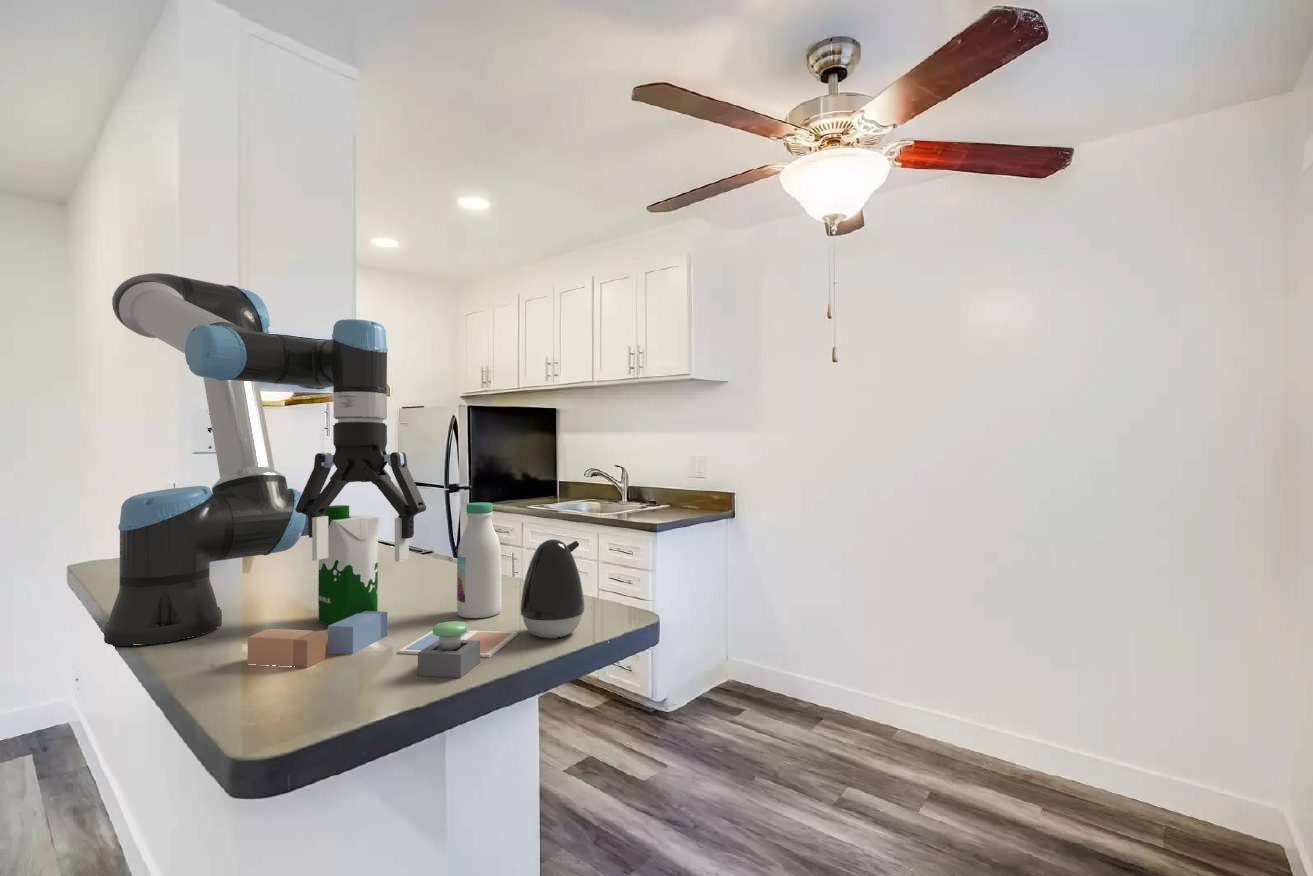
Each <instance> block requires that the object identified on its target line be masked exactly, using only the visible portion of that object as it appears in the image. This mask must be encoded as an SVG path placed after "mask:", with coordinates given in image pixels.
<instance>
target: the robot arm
mask: <svg viewBox="0 0 1313 876" xmlns="http://www.w3.org/2000/svg"><path fill="white" fill-rule="evenodd" d="M111 299H112V300H111V301H112V302H111V304H112V305H111V306H112V310H113V313H114V316H115V317H116V319H117V320H118V321H119V322H120V323H121V324H122V325H123V326H124V327H126V329H129V330H130V331H132V332H134V333H135V334H138V335H139V336H141V337H146V338H150V339H151V338H152V339H159V340H160V341H162V342H164V343H165V344H167V345H169V346H171V347H172V348H174V349H176V350H178V351H179V352H180V353H183V354H184V357H185V362H186V364H187V366H188V368H189V371H190V372H191V373H192V374H193V375H194V376H197V377H201V378H203V384H204V390H205V395H206V402H207V407H208V413H209V419H210V425H211V432H212V436H213V443H214V449H215V454H216V461H217V467H218V471H219V472H218V474H219V479H218V480H217V481H216V482H215V483H214V485H212V487H211V489H210V487H209V486H206V485H204V486H203V485H199V486H198V485H197V486H196V485H195V486H194V485H193V486H184V487H174V488H167V489H160V490H155V491H150V492H149V491H148V492H144V493H140V494H136V495H132V496H130V497H129V498H127V499H125V501H124V502H122V505H121V506H120V517H119V523H118V527H117V529H118V530H119V589H118V593H117V596H116V598H115V601H114V603H113V607H112V609H111V613H110V616H109V620H108V621H107V622H106V623H105V624H104V628H103V629H104V630H103V637H104V638H103V642H104V643H105V644H107V645H111V646H116V647H117V646H118V647H134V646H133V644H150V645H157V643H159V644H164V643H163V642H166V643H170V642H169V641H172V642H177V640H178V641H181V640H180V639H183V638H187V639H189V638H188V637H191V638H193V637H192V636H195V637H199V636H202V635H204V634H203V633H206V632H208V633H211V632H213V631H215V630H214V629H216V628H217V627H219V628H221V626H222V625H221V624H223V623H222V622H223V621H222V619H223V618H222V617H223V611H222V609H221V607H220V606H218V603H217V599H216V598H217V597H216V595H215V593H214V589H213V586H212V584H211V580H210V565H211V562H218V561H219V562H221V561H226V560H227V561H228V560H233V559H241V558H248V557H256V556H269V555H271V554H274V553H275V554H276V553H281V552H284V551H285V552H286V551H288V550H290V549H292V548H293V547H294V546H295V545H296V544H297V543H298V542H299V539H300V538H301V536H302V533H303V531H304V529H305V526H306V520H307V523H308V524H307V527H308V528H307V536H308V538H311V539H312V540H311V543H312V546H311V549H312V552H311V553H312V554H311V557H312V559H311V561H319V560H320V559H324V558H328V516H323V515H325V514H326V513H325V514H323V513H324V512H325V511H326V509H327V508H328V507H329V506H331V504H332V503H333V502H334V501H335V499H336V498H337V497H338V495H339V494H340V493H341V491H342V490H343V489H344V487H345V486H346V485H347V484H349V483H356V482H360V483H369V482H370V483H372V484H373V485H375V486H376V487H377V489H378V490H379V491H380V492H381V494H382V495H383V496H384V497H385V499H386V500H387V501H388V503H389V504H390V505H391V506H392V508H393V509H394V510H395V512H396V513H397V514H398V516H397V517H394V562H395V563H397V562H403V561H407V560H409V559H410V539H411V538H414V534H415V532H414V531H415V530H414V529H415V526H414V525H415V523H414V522H415V516H416V515H418V514H420V513H423V512H426V510H427V505H426V503H425V501H424V498H423V497H422V495H421V493H420V491H419V489H418V486H417V485H416V482H415V480H414V478H413V476H412V473H411V472H410V469H409V467H408V464H407V463H408V462H407V455H406V452H401V451H399V452H398V451H397V452H395V451H394V452H392V453H389V454H387V451H386V448H387V444H388V425H386V423H385V422H384V420H387V419H388V398H387V397H388V394H387V390H388V389H387V388H388V387H387V386H388V385H387V384H388V382H387V381H388V378H387V377H388V351H389V349H388V346H387V331H386V328H385V327H384V326H383V325H382V324H381V323H378V322H376V321H372V320H365V319H355V318H352V319H351V318H350V319H348V318H347V319H346V318H345V319H340V320H337V321H336V322H334V325H333V329H332V334H331V338H330V339H325V340H319V339H311V338H303V337H297V336H289V335H281V334H276V333H275V334H274V333H270V330H269V328H270V326H271V321H270V320H271V319H270V315H269V314H270V313H269V311H268V309H267V306H266V304H265V302H264V301H263V299H262V298H261V297H260V296H259V295H258V294H257V293H254V292H253V291H252V290H248V289H245V288H240V287H238V286H235V285H231V284H227V285H223V284H220V283H214V282H209V281H205V280H204V281H203V280H199V279H194V278H189V277H186V276H185V277H184V276H178V275H175V274H169V273H160V272H158V273H155V272H154V273H153V272H152V273H143V274H139V275H135V276H132V277H130V278H128V279H126V280H125V281H123V282H122V283H121V284H119V286H117V288H116V290H115V291H114V293H113V296H112V298H111ZM259 383H267V384H275V385H287V386H289V385H290V386H298V387H299V388H303V389H308V390H310V389H311V390H312V389H313V390H323V389H327V388H333V389H332V390H333V392H332V393H333V401H332V402H333V404H332V406H333V407H332V408H333V415H332V416H333V418H334V419H335V420H337V422H335V423H334V424H333V425H332V428H333V429H332V432H333V433H332V437H333V440H332V441H333V442H332V443H333V446H334V449H335V450H334V451H335V452H334V454H331V453H330V452H322V453H321V452H318V453H316V454H315V456H314V463H313V468H312V470H311V473H310V475H309V477H308V479H307V482H306V483H305V486H304V488H303V491H302V492H300V490H297V489H296V488H295V489H294V488H292V487H291V488H288V483H287V478H286V476H285V475H284V474H282V473H280V472H279V471H277V470H276V469H275V464H274V460H273V454H272V448H271V442H270V437H269V433H268V428H267V427H268V426H267V421H266V416H265V410H264V405H263V400H262V395H261V389H260V384H259ZM387 464H388V466H389V467H390V468H391V471H392V473H393V476H394V477H395V480H396V482H397V484H398V486H399V488H400V489H399V488H398V487H397V485H396V484H395V483H394V482H393V481H392V477H391V476H390V474H389V473H388V472H387V470H386V469H385V467H386V465H387ZM333 466H335V468H336V469H335V471H334V473H333V474H332V475H331V476H330V478H329V477H328V476H329V474H330V473H331V469H332V467H333ZM328 478H329V481H328V482H327V484H326V485H325V483H326V481H327V480H328ZM324 486H325V487H324ZM400 490H401V491H400ZM306 518H307V519H306ZM217 629H218V628H217ZM217 629H216V630H217ZM212 630H213V631H212ZM210 631H211V632H210ZM201 634H202V635H201ZM206 634H207V633H206ZM198 635H199V636H198ZM183 640H184V639H183Z"/></svg>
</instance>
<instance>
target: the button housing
mask: <svg viewBox="0 0 1313 876" xmlns="http://www.w3.org/2000/svg"><path fill="white" fill-rule="evenodd" d="M480 663H481V657H480V641H476V640H461V646H460V647H459V648H456V649H451V650H443V649H440V648H439V640H437V641H436V642H434V643H433V644H431V645H429V646H428V647H426V648H425V649H423V650H421V651H420V652H418V654H417V676H419V677H420V676H422V677H437V678H438V677H439V678H441V677H442V678H456V679H457V678H459V679H461V678H463V677H465V675H466V674H467V673H470V671H471V670H473V669H474V668H475V667H476V666H477V665H479V664H480Z"/></svg>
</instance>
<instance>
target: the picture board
mask: <svg viewBox="0 0 1313 876" xmlns="http://www.w3.org/2000/svg"><path fill="white" fill-rule="evenodd" d="M517 636H518V632H517V631H513V632H512V631H493V630H491V631H490V630H469V629H467V631H466V632H465V633H463V634H461V640H476V641H480V658H488V659H489V658H491V657H492V656H494V655H495V654H496V653H497V652H498V651H499V650H501V649H502V648H503V647H504V646H506V645H508V643H509V642H510V641H512V640H514V638H516V637H517ZM437 640H439V636H435V635H433V630H431V631H428V633H426V634H424V635H423V636H421V637H419V638H417V639H416V640H413V641H412V642H410V643H408V644H407V645H406V646H404V647H402V648H400V649H398V650H397V652H398V654H404V655H405V654H406V655H418V652H420V651H421V650H423V649H425V648H426V647H428V646H429V645H431V644H433V643H434V642H436V641H437Z"/></svg>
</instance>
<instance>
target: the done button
mask: <svg viewBox="0 0 1313 876" xmlns="http://www.w3.org/2000/svg"><path fill="white" fill-rule="evenodd" d="M467 630H468V624H467V623H466V622H464V621H458V620H457V621H454V620H453V621H444V622H439V623H436V624H434V625H433V626H432V631H433V635H435V636H439V648H440V649H443V650H451V649H456V648H459V647H460V646H461V634H463V633H465V632H466V631H467Z"/></svg>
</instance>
